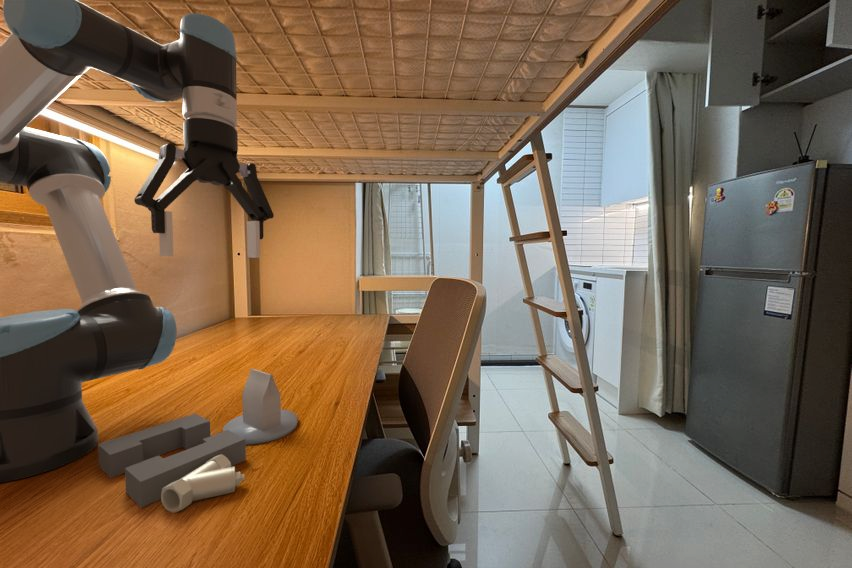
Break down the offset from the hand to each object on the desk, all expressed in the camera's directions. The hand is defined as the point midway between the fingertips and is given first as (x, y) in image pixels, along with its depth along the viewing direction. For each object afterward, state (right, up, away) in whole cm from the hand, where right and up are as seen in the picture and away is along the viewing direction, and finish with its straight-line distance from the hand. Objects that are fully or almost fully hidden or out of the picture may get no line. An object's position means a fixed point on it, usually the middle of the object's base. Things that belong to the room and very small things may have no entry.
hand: (214, 257), depth 60 cm
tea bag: (+3, -31, +10) cm, 33 cm away
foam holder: (-5, -33, -2) cm, 33 cm away
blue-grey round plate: (+3, -32, +11) cm, 34 cm away
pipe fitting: (+5, -34, -10) cm, 36 cm away
